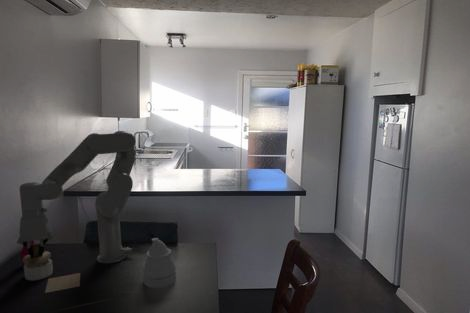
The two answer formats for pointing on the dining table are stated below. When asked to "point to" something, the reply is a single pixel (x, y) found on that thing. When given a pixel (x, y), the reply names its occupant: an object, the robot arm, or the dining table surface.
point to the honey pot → (159, 266)
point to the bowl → (38, 270)
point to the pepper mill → (25, 251)
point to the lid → (36, 255)
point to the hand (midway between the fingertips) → (36, 255)
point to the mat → (63, 282)
